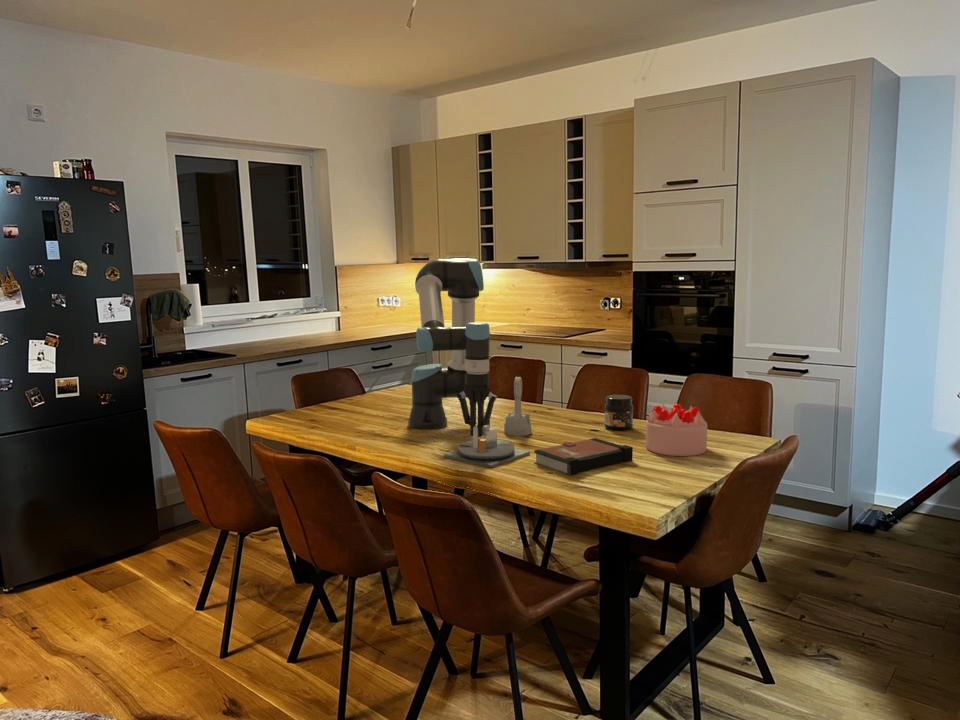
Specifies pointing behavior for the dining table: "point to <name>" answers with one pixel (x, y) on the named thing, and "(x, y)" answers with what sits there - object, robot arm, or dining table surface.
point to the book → (583, 456)
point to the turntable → (486, 450)
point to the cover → (489, 436)
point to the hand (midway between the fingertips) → (476, 446)
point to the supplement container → (618, 413)
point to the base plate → (487, 462)
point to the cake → (676, 431)
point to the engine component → (517, 415)
